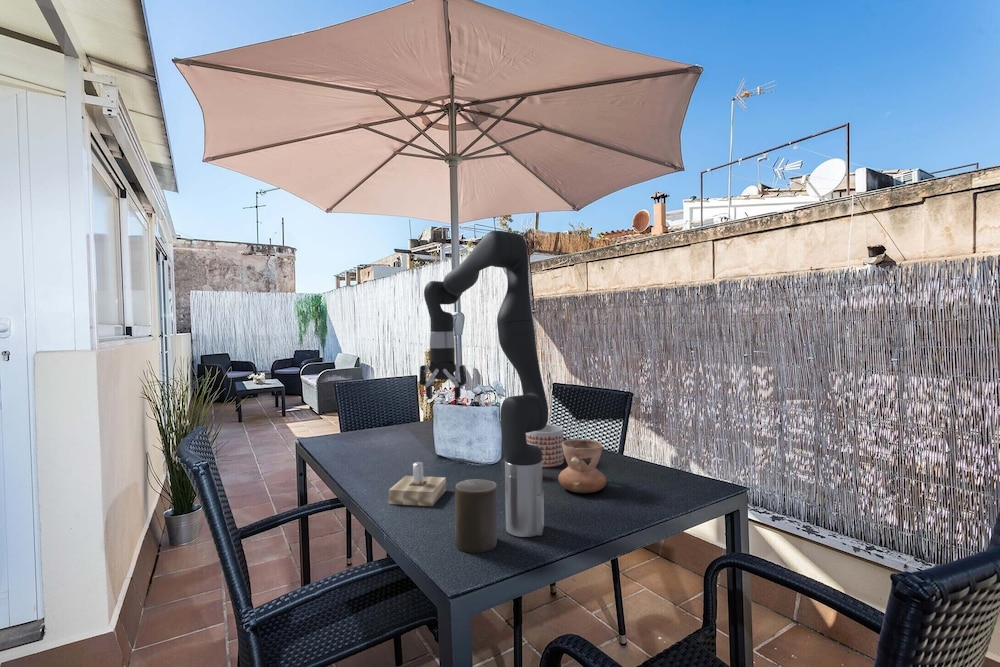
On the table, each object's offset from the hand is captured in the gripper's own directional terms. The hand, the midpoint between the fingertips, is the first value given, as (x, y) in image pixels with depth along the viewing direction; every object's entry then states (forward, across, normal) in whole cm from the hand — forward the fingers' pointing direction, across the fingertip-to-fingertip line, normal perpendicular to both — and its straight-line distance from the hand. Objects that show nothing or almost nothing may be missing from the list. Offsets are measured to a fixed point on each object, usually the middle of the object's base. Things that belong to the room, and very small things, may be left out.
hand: (443, 399), depth 148 cm
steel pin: (+28, +6, +7) cm, 30 cm away
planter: (+28, -28, -33) cm, 52 cm away
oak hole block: (+28, +6, +7) cm, 30 cm away
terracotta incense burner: (+28, -42, -7) cm, 51 cm away
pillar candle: (+28, -18, +34) cm, 48 cm away
